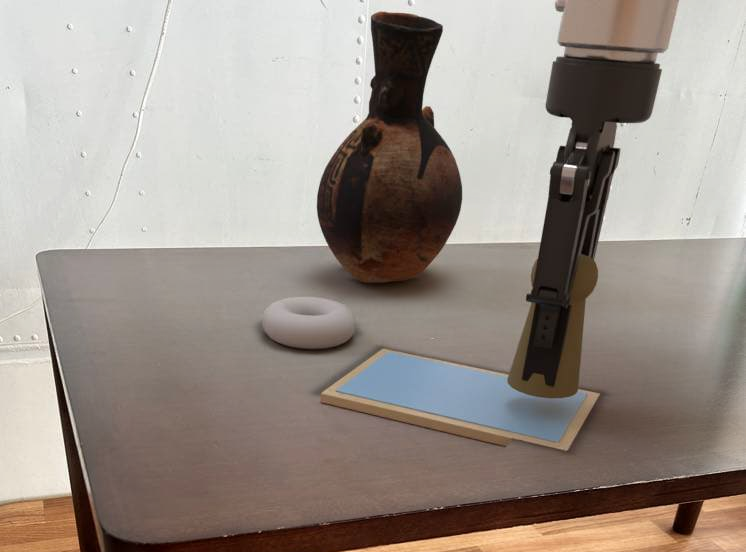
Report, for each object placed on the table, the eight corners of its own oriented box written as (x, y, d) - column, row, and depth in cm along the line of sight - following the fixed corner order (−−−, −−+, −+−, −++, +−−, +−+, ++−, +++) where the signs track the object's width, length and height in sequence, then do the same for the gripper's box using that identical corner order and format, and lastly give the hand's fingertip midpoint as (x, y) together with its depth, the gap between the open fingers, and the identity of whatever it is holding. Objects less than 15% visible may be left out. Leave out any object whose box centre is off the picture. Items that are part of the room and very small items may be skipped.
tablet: (598, 402, 76) (600, 392, 75) (565, 461, 65) (567, 449, 65) (382, 356, 84) (382, 347, 83) (320, 402, 73) (320, 391, 72)
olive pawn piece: (495, 385, 70) (517, 252, 64) (524, 366, 74) (547, 240, 68) (562, 404, 67) (591, 267, 61) (588, 384, 71) (618, 254, 65)
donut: (370, 335, 90) (290, 317, 93) (372, 303, 88) (291, 286, 91) (328, 362, 82) (243, 341, 85) (331, 328, 80) (243, 308, 83)
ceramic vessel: (372, 254, 120) (388, 13, 104) (478, 276, 112) (513, 19, 96) (284, 281, 106) (287, 5, 89) (399, 310, 98) (425, 12, 81)
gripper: (580, 51, 65) (527, 337, 78) (524, 51, 52) (472, 396, 64) (678, 58, 63) (607, 353, 75) (646, 60, 49) (567, 417, 62)
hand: (545, 372), depth 70 cm, fingers closed on olive pawn piece, 4 cm apart
